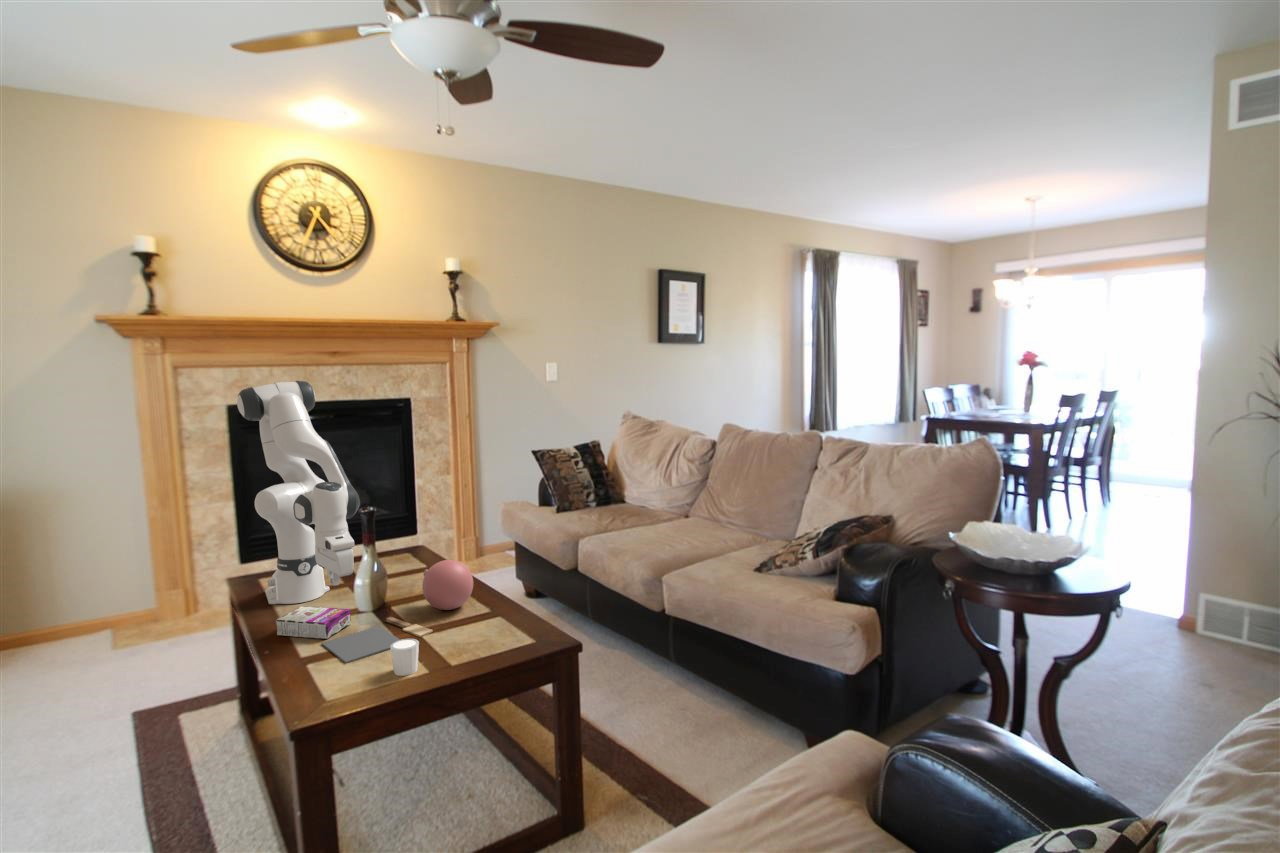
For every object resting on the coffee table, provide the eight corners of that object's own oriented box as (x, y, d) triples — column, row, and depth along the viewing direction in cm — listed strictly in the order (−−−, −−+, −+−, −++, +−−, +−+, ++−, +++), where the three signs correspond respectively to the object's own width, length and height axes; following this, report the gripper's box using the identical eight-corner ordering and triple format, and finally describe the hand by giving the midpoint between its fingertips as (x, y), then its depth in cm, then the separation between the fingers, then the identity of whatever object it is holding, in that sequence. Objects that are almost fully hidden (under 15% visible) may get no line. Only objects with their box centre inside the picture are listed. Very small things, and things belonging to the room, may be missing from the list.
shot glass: (395, 665, 169) (394, 638, 169) (423, 663, 170) (422, 637, 169) (388, 677, 163) (386, 650, 162) (416, 676, 163) (415, 649, 162)
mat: (321, 644, 182) (321, 642, 182) (378, 627, 194) (378, 625, 194) (346, 663, 170) (345, 661, 170) (405, 644, 182) (405, 642, 182)
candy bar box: (351, 625, 196) (303, 620, 199) (350, 608, 195) (302, 604, 199) (326, 640, 185) (275, 636, 188) (325, 623, 185) (274, 619, 188)
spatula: (382, 623, 197) (381, 619, 197) (395, 618, 200) (394, 615, 200) (420, 637, 187) (420, 634, 186) (433, 632, 190) (432, 628, 190)
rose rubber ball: (451, 592, 222) (449, 548, 221) (483, 607, 208) (481, 560, 207) (407, 605, 211) (405, 558, 210) (438, 621, 197) (436, 571, 196)
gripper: (308, 534, 197) (311, 579, 199) (333, 546, 183) (336, 595, 184) (329, 530, 202) (332, 574, 203) (356, 542, 187) (359, 589, 189)
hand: (334, 584), depth 194 cm, fingers closed
